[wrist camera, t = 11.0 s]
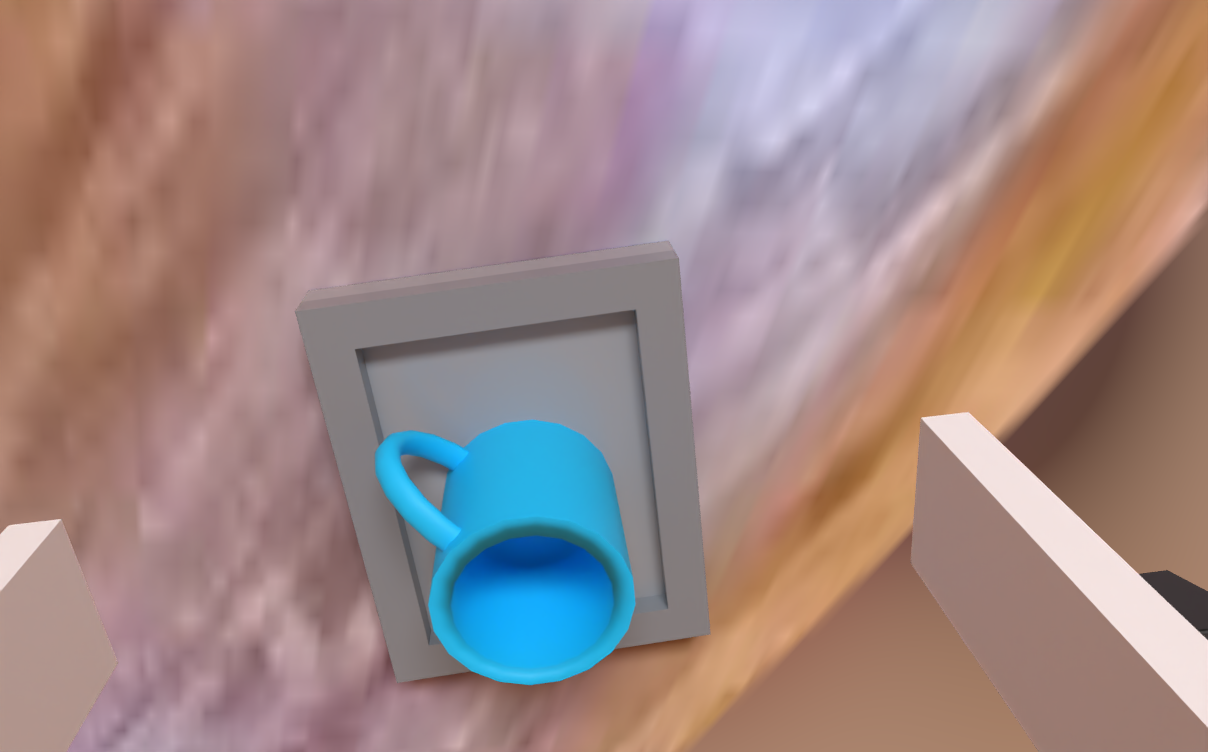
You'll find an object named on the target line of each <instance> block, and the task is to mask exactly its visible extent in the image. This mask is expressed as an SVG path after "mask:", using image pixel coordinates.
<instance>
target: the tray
mask: <svg viewBox="0 0 1208 752" xmlns="http://www.w3.org/2000/svg"><path fill="white" fill-rule="evenodd" d="M295 313H296V317H297V321H298V324H299V328H300V331H301V335H302V339H303V342H304V346H305V350H306V353H307V357H308V361H309V364H310V368H311V371H312V375H313V379H314V382H315V386H316V390H317V393H318V397H319V401H320V404H321V408H322V411H323V415H324V419H325V422H326V426H327V430H328V433H329V437H330V441H331V444H332V448H333V451H334V455H335V459H336V462H337V466H338V470H339V473H340V477H341V481H342V484H343V488H344V491H345V495H346V499H347V502H348V506H349V510H350V513H351V517H352V521H353V524H354V528H355V531H356V535H357V539H358V542H359V546H360V550H361V553H362V557H363V561H364V564H365V568H366V571H367V575H368V579H369V582H370V586H371V590H372V593H373V597H374V601H375V604H376V608H377V611H378V615H379V619H380V622H381V626H382V630H383V633H384V637H385V641H386V644H387V648H388V651H389V655H390V659H391V662H392V666H393V670H394V673H395V677H396V681H397V683H400V682H406V681H412V680H419V679H425V678H432V677H438V676H445V675H451V674H458V673H464V672H470V671H471V670H469V669H468V668H467V667H465V666H464V665H463V664H461V663H460V662H459V661H458V660H456V659H455V658H454V657H452V656H451V655H450V654H449V653H448V652H447V650H446V649H445V647H444V646H443V644H442V643H441V641H440V640H439V638H438V637H437V635H436V634H435V632H434V630H433V626H432V621H431V616H430V612H429V607H428V602H429V595H430V588H431V580H432V573H433V566H434V559H435V551H436V546H434V545H433V544H431V543H430V542H429V541H427V540H426V539H425V538H424V537H423V536H422V535H421V534H420V533H419V532H418V531H417V530H415V529H414V528H413V527H412V526H411V525H410V524H409V523H408V522H407V521H406V520H404V518H403V517H402V516H401V515H400V513H399V512H398V511H397V510H396V508H395V507H394V506H393V505H392V503H391V502H390V501H389V500H388V498H387V497H386V495H385V493H384V491H383V489H382V487H381V485H380V483H379V481H378V479H377V477H376V474H375V452H376V450H377V448H378V447H379V446H380V445H381V443H382V442H383V441H384V440H385V439H386V438H387V437H388V436H389V435H390V434H392V433H397V432H403V431H409V430H414V431H419V432H424V433H429V434H434V435H436V436H439V437H441V438H444V439H446V440H449V441H451V442H454V443H456V444H458V445H460V446H461V447H463V448H464V447H465V446H466V445H467V444H469V443H470V442H471V441H472V440H473V439H474V438H476V437H477V436H478V435H479V434H481V433H483V432H485V431H488V430H490V429H492V428H494V427H497V426H499V425H501V424H504V423H509V422H517V421H525V420H539V421H545V422H551V423H558V424H561V425H563V426H565V427H567V428H570V429H572V430H574V431H576V432H578V433H580V434H582V435H584V436H585V437H586V438H587V439H588V440H589V441H590V442H591V443H592V444H593V445H594V446H595V447H596V448H597V449H598V450H600V451H601V452H602V454H603V456H604V458H605V460H606V462H607V464H608V466H609V468H610V470H611V472H612V474H613V479H614V484H615V489H616V494H617V500H618V505H619V510H620V515H621V520H622V525H623V530H624V535H625V540H626V545H627V550H628V555H629V560H630V565H631V570H632V575H633V582H634V592H635V603H636V604H635V608H634V611H633V615H632V618H631V622H630V625H629V629H628V630H627V632H626V633H625V635H624V636H623V637H622V639H621V640H620V642H619V643H618V644H617V646H616V647H615V649H619V648H625V647H632V646H638V645H644V644H651V643H657V642H664V641H670V640H677V639H683V638H690V637H696V636H702V635H709V634H710V623H709V611H708V600H707V588H706V576H705V564H704V552H703V540H702V528H701V517H700V505H699V493H698V481H697V469H696V457H695V445H694V434H693V422H692V410H691V398H690V386H689V374H688V363H687V351H686V339H685V327H684V315H683V303H682V291H681V280H680V268H679V258H678V256H677V254H676V253H675V251H674V249H673V248H672V246H671V244H670V242H669V241H664V242H656V243H649V244H642V245H635V246H628V247H620V248H613V249H606V250H599V251H592V252H584V253H577V254H570V255H563V256H556V257H548V258H541V259H534V260H527V261H520V262H512V263H505V264H498V265H491V266H483V267H476V268H469V269H462V270H455V271H447V272H440V273H433V274H426V275H419V276H411V277H404V278H397V279H390V280H383V281H375V282H368V283H361V284H354V285H347V286H339V287H332V288H325V289H318V290H311V291H308V293H307V294H306V296H305V297H304V299H303V300H302V302H301V303H300V305H299V306H298V308H297V309H296V311H295ZM401 463H402V465H403V467H404V469H405V471H406V473H407V475H408V477H409V478H410V480H411V481H412V482H413V483H414V484H415V486H416V487H417V488H418V489H419V491H420V492H421V493H422V494H423V495H424V497H425V498H426V499H427V500H428V501H429V502H430V503H431V504H433V505H434V506H435V507H436V508H437V509H438V510H439V511H440V512H441V508H442V501H443V494H444V488H445V483H446V477H447V472H448V470H449V469H448V468H446V467H445V466H443V465H441V464H438V463H435V462H433V461H430V460H427V459H425V458H422V457H418V456H411V455H402V456H401Z"/></svg>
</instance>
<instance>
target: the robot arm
mask: <svg viewBox="0 0 1208 752" xmlns="http://www.w3.org/2000/svg"><path fill="white" fill-rule="evenodd" d="M911 564H912V566H913V567H914V569H915V570H916V572H917V573H918V575H919V576H920V578H921V579H922V581H923V582H924V584H925V585H926V586H927V588H928V589H929V591H930V592H931V594H932V595H933V597H934V598H935V600H936V601H937V603H938V604H939V606H940V607H941V609H942V610H943V612H944V613H945V614H946V616H947V617H948V619H949V620H950V622H951V623H952V625H953V626H954V628H955V629H956V631H957V632H958V634H959V635H960V637H961V638H962V640H963V641H964V642H965V644H966V645H967V647H968V648H969V650H970V651H971V653H972V654H973V656H974V657H975V659H976V660H977V662H978V663H979V665H980V666H981V667H982V669H983V671H984V672H985V673H986V675H987V676H988V678H989V679H990V681H991V682H992V684H993V685H994V687H995V688H996V690H997V691H998V693H999V694H1000V696H1001V697H1002V699H1003V700H1004V701H1005V703H1006V704H1007V706H1008V707H1009V709H1010V710H1011V712H1012V713H1013V715H1014V716H1015V718H1016V719H1017V721H1018V722H1019V724H1020V725H1021V726H1022V728H1023V729H1024V731H1025V732H1026V734H1027V735H1028V737H1029V738H1030V740H1031V741H1032V743H1033V744H1034V746H1035V747H1036V749H1037V750H1038V751H1039V752H1208V591H1206V590H1204V589H1202V588H1200V587H1198V586H1196V585H1194V584H1192V583H1191V582H1189V581H1187V580H1185V579H1183V578H1181V577H1179V576H1177V575H1175V574H1173V573H1172V572H1170V571H1168V570H1166V571H1158V572H1150V573H1143V574H1138V573H1137V572H1136V571H1135V570H1133V569H1132V568H1131V567H1130V566H1129V565H1128V564H1127V563H1126V562H1125V561H1124V560H1123V559H1122V558H1121V557H1120V556H1119V555H1118V554H1117V553H1116V552H1115V551H1114V550H1113V549H1111V548H1110V547H1109V546H1108V545H1107V544H1106V543H1105V542H1104V541H1103V540H1102V539H1101V538H1100V537H1099V536H1098V535H1097V534H1096V533H1094V531H1093V530H1092V529H1091V528H1089V527H1088V526H1087V525H1086V524H1085V523H1084V522H1083V521H1082V520H1081V519H1080V518H1079V517H1078V516H1077V515H1076V514H1075V513H1074V512H1073V511H1072V510H1070V508H1068V507H1067V506H1066V505H1065V504H1064V503H1063V502H1062V501H1061V500H1060V499H1059V498H1058V497H1057V496H1056V495H1055V494H1054V493H1053V492H1052V491H1051V490H1050V489H1048V488H1047V487H1046V486H1045V485H1044V484H1043V483H1042V482H1041V481H1040V480H1039V479H1038V478H1037V477H1036V476H1035V475H1034V474H1033V473H1032V472H1031V471H1030V470H1029V469H1028V468H1026V467H1025V466H1024V465H1023V464H1022V463H1021V462H1020V461H1019V460H1018V459H1017V458H1016V457H1015V456H1014V455H1013V454H1012V453H1011V452H1010V451H1009V450H1008V449H1006V447H1004V446H1003V445H1002V444H1001V443H1000V442H999V441H998V440H997V439H996V438H995V437H994V436H993V435H992V434H991V433H990V432H989V431H988V430H987V429H986V428H985V427H984V426H982V425H981V424H980V423H979V422H978V421H977V420H976V419H975V418H974V417H973V416H972V415H971V414H970V413H969V412H966V413H957V414H949V415H940V416H932V417H923V418H921V422H920V436H919V451H918V465H917V479H916V494H915V508H914V523H913V537H912V552H911ZM117 664H118V662H117V659H116V657H115V654H114V652H113V649H112V646H111V644H110V641H109V639H108V636H107V634H106V631H105V629H104V626H103V624H102V621H101V619H100V616H99V613H98V611H97V608H96V606H95V603H94V601H93V598H92V596H91V593H90V591H89V588H88V585H87V583H86V580H85V578H84V575H83V573H82V570H81V568H80V565H79V563H78V560H77V557H76V555H75V552H74V550H73V547H72V545H71V542H70V540H69V537H68V535H67V532H66V529H65V527H64V524H63V522H62V519H58V520H50V521H41V522H33V523H24V524H16V525H9V526H8V527H7V528H6V529H5V530H4V531H3V532H2V533H1V534H0V752H66V751H67V750H68V748H69V746H70V745H71V743H72V741H73V739H74V738H75V736H76V734H77V733H78V731H79V729H80V727H81V726H82V724H83V722H84V720H85V719H86V717H87V715H88V714H89V712H90V710H91V708H92V707H93V705H94V703H95V702H96V700H97V698H98V696H99V695H100V693H101V691H102V690H103V688H104V686H105V684H106V683H107V681H108V679H109V678H110V676H111V674H112V672H113V671H114V669H115V667H116V666H117Z"/></svg>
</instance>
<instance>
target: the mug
mask: <svg viewBox="0 0 1208 752" xmlns="http://www.w3.org/2000/svg"><path fill="white" fill-rule="evenodd" d="M402 455H411V456H418V457H422V458H425V459H427V460H430V461H433V462H435V463H438V464H441V465H443V466H445V467H446V468H448V469H449V470H448V472H447V477H446V483H445V488H444V494H443V501H442V508H441V512H440V511H439V510H438V509H437V508H436V507H435V506H434V505H433V504H431V503H430V502H429V501H428V500H427V499H426V498H425V497H424V495H423V494H422V493H421V492H420V491H419V489H418V488H417V487H416V486H415V484H414V483H413V482H412V481H411V480H410V478H409V477H408V475H407V473H406V471H405V469H404V467H403V465H402V463H401V456H402ZM375 474H376V477H377V479H378V481H379V483H380V485H381V487H382V489H383V491H384V493H385V495H386V497H387V498H388V500H389V501H390V502H391V503H392V505H393V506H394V507H395V508H396V510H397V511H398V512H399V513H400V515H401V516H402V517H403V518H404V520H406V521H407V522H408V523H409V524H410V525H411V526H412V527H413V528H414V529H415V530H417V531H418V532H419V533H420V534H421V535H422V536H423V537H424V538H425V539H426V540H427V541H429V542H430V543H431V544H433V545H434V546H436V551H435V559H434V566H433V573H432V580H431V588H430V595H429V602H428V607H429V612H430V616H431V621H432V626H433V630H434V632H435V634H436V635H437V637H438V638H439V640H440V641H441V643H442V644H443V646H444V647H445V649H446V650H447V652H448V653H449V654H450V655H451V656H452V657H454V658H455V659H456V660H458V661H459V662H460V663H461V664H463V665H464V666H465V667H467V668H468V669H469V670H471V671H472V672H475V673H478V674H480V675H483V676H485V677H488V678H491V679H493V680H496V681H499V682H506V683H515V684H524V685H534V684H541V683H549V682H556V681H562V680H564V679H567V678H569V677H571V676H574V675H576V674H579V673H581V672H584V671H586V670H589V669H590V668H591V667H593V666H594V665H595V664H597V663H598V662H599V661H601V660H602V659H603V658H605V657H606V656H607V655H609V654H610V653H611V652H612V651H613V650H614V649H615V647H616V646H617V644H618V643H619V642H620V640H621V639H622V637H623V636H624V635H625V633H626V632H627V630H628V629H629V625H630V622H631V618H632V615H633V611H634V608H635V604H636V603H635V592H634V582H633V575H632V570H631V565H630V560H629V555H628V550H627V545H626V540H625V535H624V530H623V525H622V520H621V515H620V510H619V505H618V500H617V494H616V489H615V484H614V479H613V474H612V472H611V470H610V468H609V466H608V464H607V462H606V460H605V458H604V456H603V454H602V452H601V451H600V450H598V449H597V448H596V447H595V446H594V445H593V444H592V443H591V442H590V441H589V440H588V439H587V438H586V437H585V436H584V435H582V434H580V433H578V432H576V431H574V430H572V429H570V428H567V427H565V426H563V425H561V424H558V423H551V422H545V421H539V420H525V421H517V422H509V423H504V424H501V425H499V426H497V427H494V428H492V429H490V430H488V431H485V432H483V433H481V434H479V435H478V436H477V437H476V438H474V439H473V440H472V441H471V442H470V443H469V444H467V445H466V446H465V447H464V448H463V447H461V446H460V445H458V444H456V443H454V442H451V441H449V440H446V439H444V438H441V437H439V436H436V435H434V434H429V433H424V432H419V431H414V430H409V431H403V432H397V433H392V434H390V435H389V436H388V437H387V438H386V439H385V440H384V441H383V442H382V443H381V445H380V446H379V447H378V448H377V450H376V452H375Z"/></svg>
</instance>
